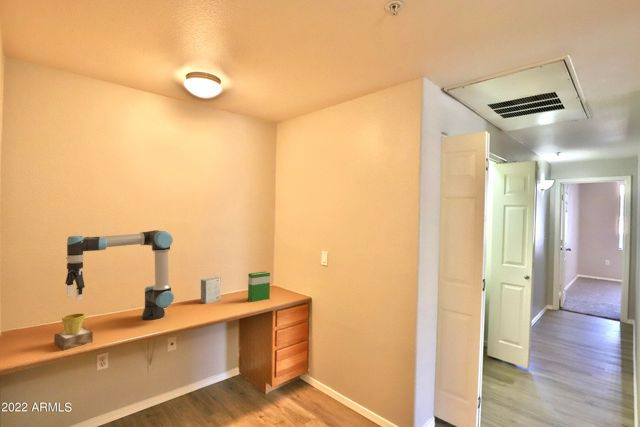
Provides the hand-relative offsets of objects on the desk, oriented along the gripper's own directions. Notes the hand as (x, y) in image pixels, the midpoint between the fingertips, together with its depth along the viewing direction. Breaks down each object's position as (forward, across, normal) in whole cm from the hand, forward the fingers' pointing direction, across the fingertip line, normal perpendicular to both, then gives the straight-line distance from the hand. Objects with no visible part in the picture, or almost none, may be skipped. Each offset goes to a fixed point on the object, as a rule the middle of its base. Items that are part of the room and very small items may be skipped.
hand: (74, 298), depth 184 cm
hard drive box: (+27, -8, +103) cm, 106 cm away
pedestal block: (+27, 0, 0) cm, 27 cm away
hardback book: (+27, +23, +131) cm, 135 cm away
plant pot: (+20, 0, 0) cm, 21 cm away
